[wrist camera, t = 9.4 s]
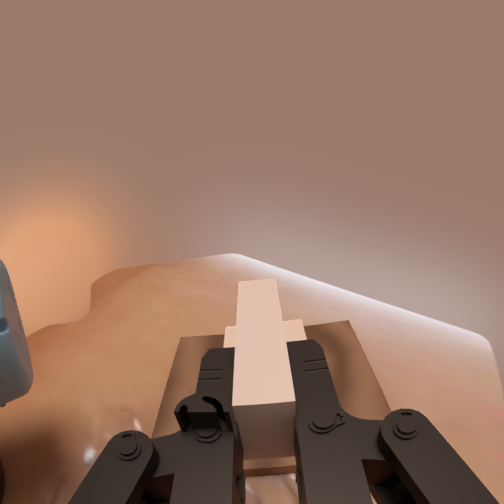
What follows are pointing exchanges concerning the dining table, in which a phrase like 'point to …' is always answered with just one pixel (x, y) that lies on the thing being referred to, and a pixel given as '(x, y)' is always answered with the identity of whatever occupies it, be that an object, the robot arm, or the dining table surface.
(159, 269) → the dining table surface
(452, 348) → the dining table surface
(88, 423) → the dining table surface
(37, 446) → the dining table surface
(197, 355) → the board
